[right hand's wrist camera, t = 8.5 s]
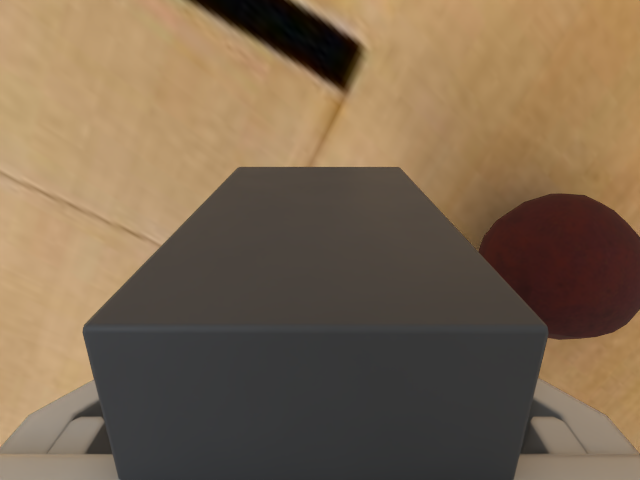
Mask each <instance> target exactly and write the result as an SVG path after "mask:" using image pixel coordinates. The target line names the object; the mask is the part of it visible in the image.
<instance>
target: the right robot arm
mask: <svg viewBox="0 0 640 480" xmlns="http://www.w3.org/2000/svg"><path fill="white" fill-rule="evenodd" d="M0 480H120V479H118V474H117V470H116V466H115V462H114V458H113V454H112V450H111V446H110V442H109V438H108V434H107V430H106V426H105V421H104V417H103V413H102V409H101V405H100V401H99V397H98V393H97V389H96V385H95V381H94V380H92V381H90V382H88V383H87V384H85V385H83V386H81V387H79V388H77V389H76V390H74V391H72V392H70V393H68V394H66V395H65V396H63V397H61V398H59V399H57V400H55V401H54V402H52V403H50V404H48V405H46V406H44V407H43V408H41V409H39V410H37V411H35V412H33V413H32V414H30V415H28V417H27V418H26V419H25V420H24V421H23V422H22V423H21V425H20V426H19V427H18V428H17V429H16V430H15V431H14V432H13V434H12V435H11V436H10V437H9V438H8V439H7V440H6V442H5V443H4V444H3V445H2V446H1V447H0ZM514 480H640V454H639V452H638V451H637V450H636V449H635V448H634V447H633V445H632V444H631V443H630V442H629V441H628V440H627V438H626V437H625V436H624V435H623V434H622V433H621V431H620V430H619V429H618V428H617V427H616V426H615V425H614V423H613V422H612V421H611V420H610V419H609V418H608V416H607V415H605V414H603V413H601V412H599V411H598V410H596V409H594V408H592V407H590V406H589V405H587V404H585V403H583V402H581V401H580V400H578V399H576V398H574V397H572V396H571V395H569V394H567V393H565V392H563V391H561V390H560V389H558V388H556V387H554V386H552V385H551V384H549V383H547V382H545V381H543V380H542V379H540V378H538V380H537V384H536V388H535V392H534V397H533V401H532V405H531V409H530V413H529V417H528V422H527V426H526V430H525V434H524V438H523V443H522V447H521V451H520V455H519V459H518V464H517V468H516V472H515V476H514Z"/></svg>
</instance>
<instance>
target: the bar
mask: <svg viewBox="0 0 640 480" xmlns="http://www.w3.org/2000/svg"><path fill="white" fill-rule="evenodd" d="M548 334H549V333H548V327H547V325H546V324H545V323H544V322H543V321H542V320H541V319H540V318H539V316H538V315H537V314H536V313H535V312H534V311H533V310H532V309H531V308H530V307H529V306H528V305H527V304H526V303H525V301H524V300H523V299H522V298H521V297H520V296H519V295H518V294H517V293H516V292H515V291H514V290H513V289H512V288H511V286H510V285H509V284H508V283H507V282H506V281H505V280H504V279H503V278H502V277H501V276H500V275H499V274H498V272H497V271H496V270H495V269H494V268H493V267H492V266H491V265H490V264H489V263H488V262H487V261H486V260H485V259H484V257H483V256H482V255H481V254H480V253H479V252H478V251H477V250H476V249H475V248H474V247H473V246H472V245H471V244H470V242H469V241H468V240H467V239H466V238H465V237H464V236H463V235H462V234H461V233H460V232H459V231H458V230H457V229H456V227H455V226H454V225H453V224H452V223H451V222H450V221H449V220H448V219H447V218H446V217H445V216H444V215H443V213H442V212H441V211H440V210H439V209H438V208H437V207H436V206H435V205H434V204H433V203H432V202H431V201H430V200H429V198H428V197H427V196H426V195H425V194H424V193H423V192H422V191H421V190H420V189H419V188H418V187H417V186H416V185H415V183H414V182H413V181H412V180H411V179H410V178H409V177H408V176H407V175H406V174H405V173H404V172H403V171H402V170H401V168H399V167H239V168H237V169H236V170H235V171H234V172H233V173H232V174H231V175H230V176H229V177H228V178H227V179H226V180H225V181H224V182H223V184H222V185H221V186H220V187H219V188H218V189H217V190H216V191H215V192H214V193H213V194H212V195H211V196H210V197H209V198H208V199H207V200H206V201H205V202H204V203H203V204H202V205H201V206H200V207H199V208H198V209H197V210H196V211H195V212H194V213H193V214H192V215H191V216H190V217H189V218H188V219H187V220H186V221H185V222H184V223H183V224H182V225H181V226H180V227H179V229H178V230H177V231H176V232H175V233H174V234H173V235H172V236H171V237H170V238H169V239H168V240H167V241H166V242H165V243H164V244H163V245H162V246H161V247H160V248H159V249H158V250H157V251H156V252H155V253H154V254H153V255H152V256H151V257H150V258H149V259H148V260H147V261H146V262H145V263H144V264H143V265H142V266H141V267H140V268H139V269H138V270H137V271H136V272H135V274H134V275H133V276H132V277H131V278H130V279H129V280H128V281H127V282H126V283H125V284H124V285H123V286H122V287H121V288H120V289H119V290H118V291H117V292H116V293H115V294H114V295H113V296H112V297H111V298H110V299H109V300H108V301H107V302H106V303H105V304H104V305H103V306H102V307H101V308H100V309H99V310H98V311H97V312H96V313H95V314H94V315H93V316H92V317H91V319H90V320H89V321H88V322H87V323H86V324H85V325H84V327H83V336H84V340H85V344H86V348H87V352H88V356H89V360H90V364H91V368H92V373H93V377H94V381H95V385H96V389H97V393H98V397H99V401H100V405H101V409H102V413H103V417H104V421H105V426H106V430H107V434H108V438H109V442H110V446H111V450H112V454H113V458H114V462H115V466H116V470H117V474H118V479H120V480H514V476H515V472H516V468H517V464H518V459H519V455H520V451H521V447H522V443H523V438H524V434H525V430H526V426H527V422H528V417H529V413H530V409H531V405H532V401H533V397H534V392H535V388H536V384H537V380H538V376H539V371H540V367H541V363H542V359H543V355H544V350H545V346H546V342H547V338H548Z"/></svg>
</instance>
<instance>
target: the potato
mask: <svg viewBox="0 0 640 480" xmlns="http://www.w3.org/2000/svg"><path fill="white" fill-rule="evenodd" d="M479 253H480V254H481V255H482V256H483V257H484V259H485V260H486V261H487V262H488V263H489V264H490V265H491V266H492V267H493V268H494V269H495V270H496V271H497V272H498V274H499V275H500V276H501V277H502V278H503V279H504V280H505V281H506V282H507V283H508V284H509V285H510V286H511V288H512V289H513V290H514V291H515V292H516V293H517V294H518V295H519V296H520V297H521V298H522V299H523V300H524V301H525V303H526V304H527V305H528V306H529V307H530V308H531V309H532V310H533V311H534V312H535V313H536V314H537V315H538V316H539V318H540V319H541V320H542V321H543V322H544V323H545V324H546V325H547V327H548V333H549V334H548V338H553V339H558V340H561V339H581V338H590V337H597V336H601V335H605V334H608V333H612V332H614V331H616V330H618V329H619V328H621V327H623V326H624V325H626V324H627V323H628V322H629V321H630V320H631V319H632V318H633V317H634V315H635V314H636V313H637V312H638V311H639V309H640V237H639V236H638V234H637V233H636V232H635V231H634V230H633V229H632V228H631V227H630V226H629V224H628V223H627V222H626V221H625V220H624V219H622V218H621V217H620V216H619V215H618V214H617V213H616V212H615V211H614V210H612V209H610V208H609V207H607V206H605V205H603V204H602V203H600V202H598V201H596V200H593V199H591V198H589V197H587V196H585V195H573V194H549V195H546V196H543V197H539V198H536V199H533V200H530V201H526V202H524V203H522V204H521V205H519V206H518V207H516V208H515V209H513V210H512V211H510V212H509V213H507V214H506V215H504V216H503V217H501V218H500V219H498V220H497V221H496V222H495V223H494V225H493V226H492V227H491V228H490V229H489V231H488V232H487V233H486V234H485V236H484V238H483V241H482V243H481V246H480V249H479Z"/></svg>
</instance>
